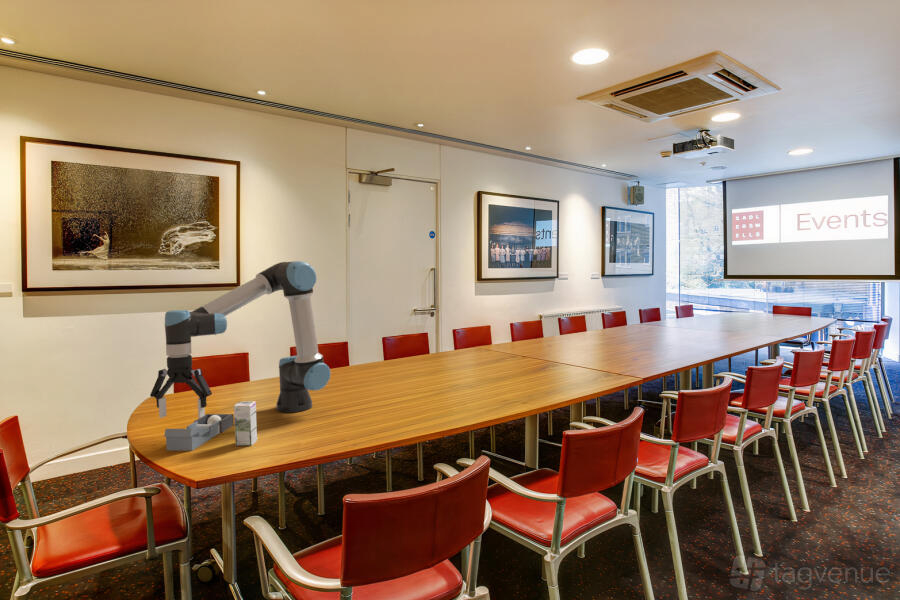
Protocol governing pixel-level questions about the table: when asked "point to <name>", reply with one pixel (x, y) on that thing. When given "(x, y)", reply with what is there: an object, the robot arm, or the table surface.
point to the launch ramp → (190, 436)
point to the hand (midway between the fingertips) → (182, 416)
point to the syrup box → (245, 423)
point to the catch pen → (223, 423)
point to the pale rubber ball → (213, 419)
